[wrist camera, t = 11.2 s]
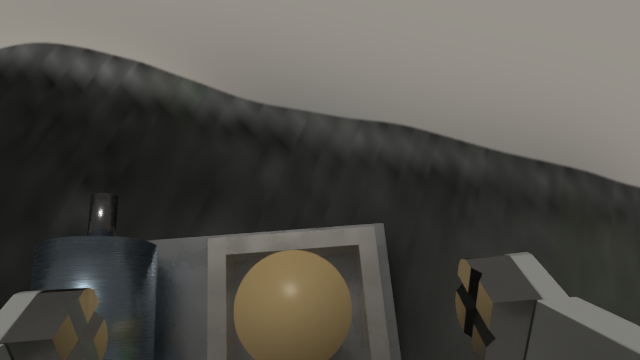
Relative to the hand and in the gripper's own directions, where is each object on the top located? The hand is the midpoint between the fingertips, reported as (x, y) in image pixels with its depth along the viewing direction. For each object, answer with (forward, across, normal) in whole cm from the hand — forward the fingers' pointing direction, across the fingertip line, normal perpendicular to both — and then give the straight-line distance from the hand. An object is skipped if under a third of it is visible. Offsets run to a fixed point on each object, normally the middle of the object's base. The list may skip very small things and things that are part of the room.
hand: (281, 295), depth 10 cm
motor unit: (+15, +4, +13) cm, 21 cm away
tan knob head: (+12, 0, +12) cm, 17 cm away
